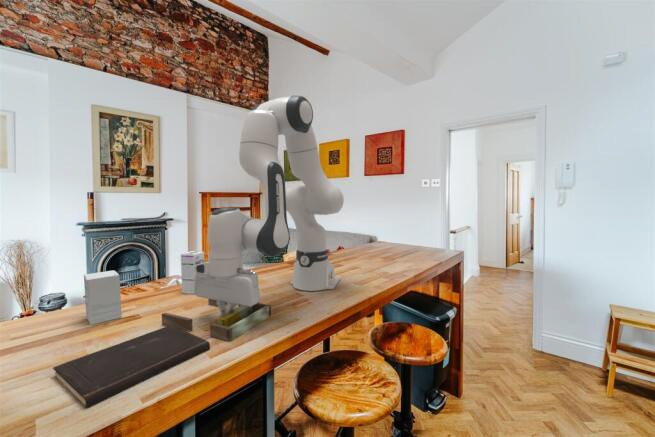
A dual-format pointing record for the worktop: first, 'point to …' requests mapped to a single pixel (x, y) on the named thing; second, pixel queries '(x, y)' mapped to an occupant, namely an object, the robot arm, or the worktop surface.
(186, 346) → the hardcover book
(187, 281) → the syrup box
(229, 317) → the medication box
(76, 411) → the worktop surface
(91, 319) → the supplement box
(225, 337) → the trap corral
